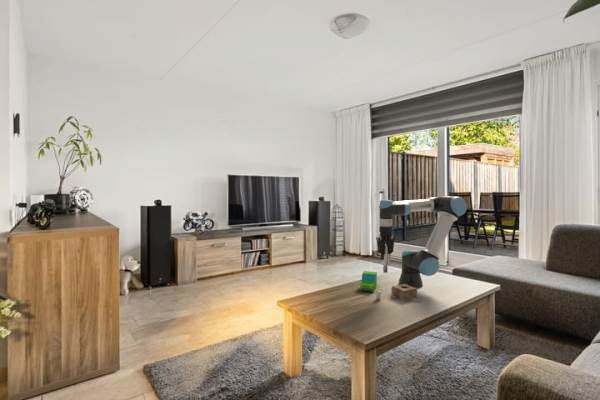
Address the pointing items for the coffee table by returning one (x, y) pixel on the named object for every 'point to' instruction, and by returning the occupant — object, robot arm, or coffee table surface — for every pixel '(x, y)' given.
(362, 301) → the coffee table surface
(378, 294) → the short pin
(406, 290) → the hole block
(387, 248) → the long pin
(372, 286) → the toy car
